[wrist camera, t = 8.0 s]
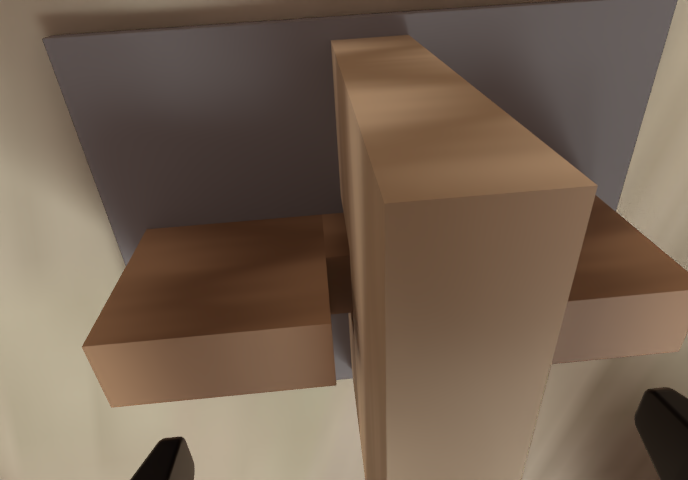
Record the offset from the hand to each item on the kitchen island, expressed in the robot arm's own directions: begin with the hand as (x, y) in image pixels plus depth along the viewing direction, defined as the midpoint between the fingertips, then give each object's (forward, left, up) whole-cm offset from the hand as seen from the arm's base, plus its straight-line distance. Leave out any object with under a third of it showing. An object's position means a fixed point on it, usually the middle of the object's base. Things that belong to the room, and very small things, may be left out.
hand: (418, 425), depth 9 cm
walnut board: (0, 0, -7) cm, 7 cm away
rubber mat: (0, 0, -8) cm, 8 cm away
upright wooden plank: (0, 0, -7) cm, 7 cm away
